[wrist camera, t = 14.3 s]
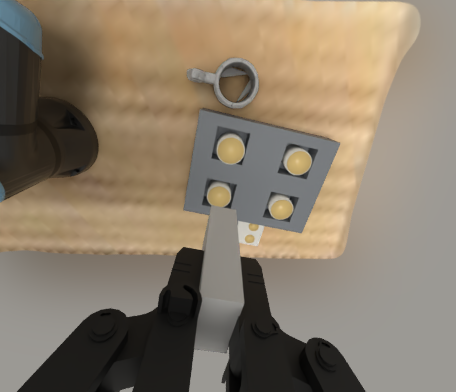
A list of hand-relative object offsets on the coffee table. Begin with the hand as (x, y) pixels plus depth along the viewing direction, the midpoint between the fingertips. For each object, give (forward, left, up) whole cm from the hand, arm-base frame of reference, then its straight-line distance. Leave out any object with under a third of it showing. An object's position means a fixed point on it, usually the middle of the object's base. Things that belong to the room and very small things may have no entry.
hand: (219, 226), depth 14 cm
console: (+8, -6, -34) cm, 36 cm away
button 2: (+2, -1, -31) cm, 31 cm away
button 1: (+2, -11, -34) cm, 35 cm away
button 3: (+14, -11, -34) cm, 38 cm away
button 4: (+15, -1, -34) cm, 37 cm away
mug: (-2, +9, -35) cm, 36 cm away
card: (+9, -21, -34) cm, 41 cm away
